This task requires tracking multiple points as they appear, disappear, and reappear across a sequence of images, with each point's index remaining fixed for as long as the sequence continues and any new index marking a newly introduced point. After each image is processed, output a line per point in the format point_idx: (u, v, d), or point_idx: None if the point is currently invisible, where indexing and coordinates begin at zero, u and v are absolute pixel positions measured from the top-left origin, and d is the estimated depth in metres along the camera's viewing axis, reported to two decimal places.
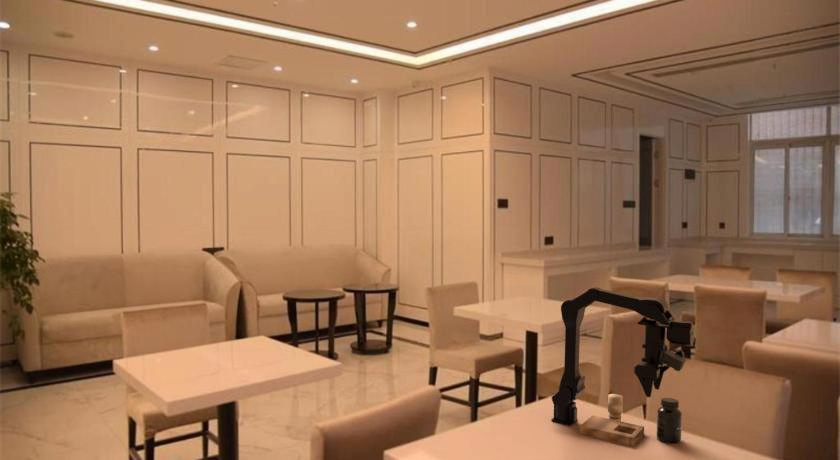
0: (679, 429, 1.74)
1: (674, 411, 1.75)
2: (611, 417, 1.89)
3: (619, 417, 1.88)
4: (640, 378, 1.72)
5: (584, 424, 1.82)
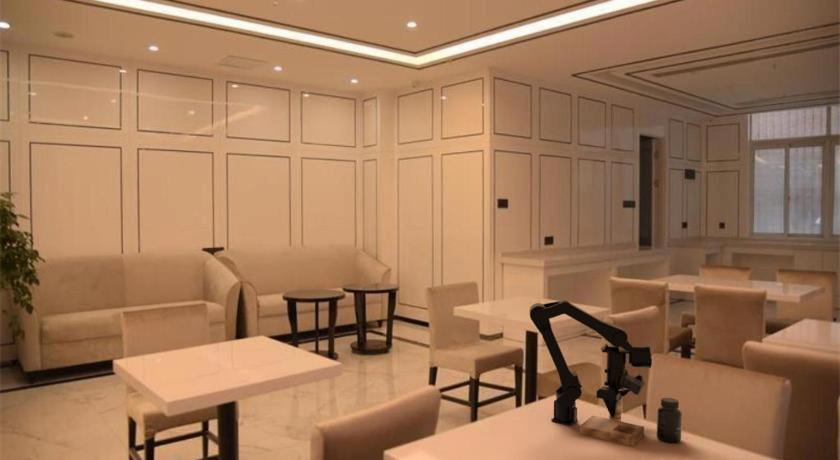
0: (679, 429, 1.74)
1: (674, 411, 1.75)
2: (611, 417, 1.89)
3: (619, 417, 1.88)
4: (604, 399, 1.87)
5: (584, 424, 1.82)
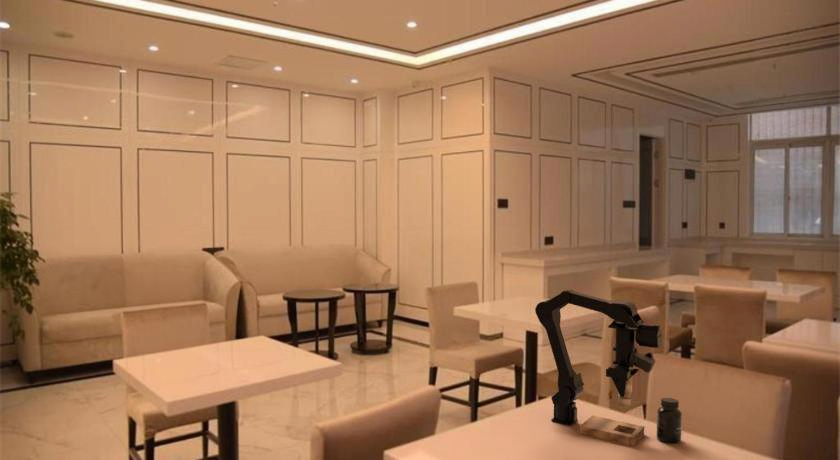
0: (679, 429, 1.74)
1: (674, 411, 1.75)
2: (620, 398, 1.79)
3: (629, 397, 1.79)
4: (614, 379, 1.78)
5: (584, 424, 1.82)
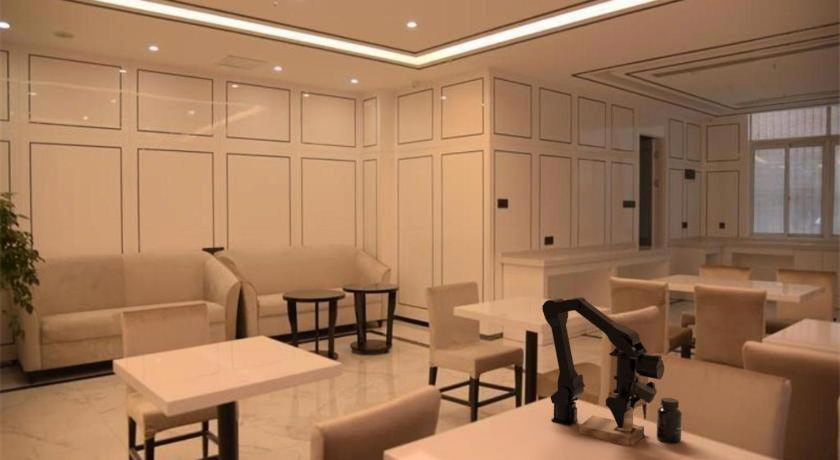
0: (679, 429, 1.74)
1: (674, 411, 1.75)
2: (621, 431, 1.77)
3: (629, 430, 1.77)
4: (612, 409, 1.74)
5: (584, 424, 1.82)
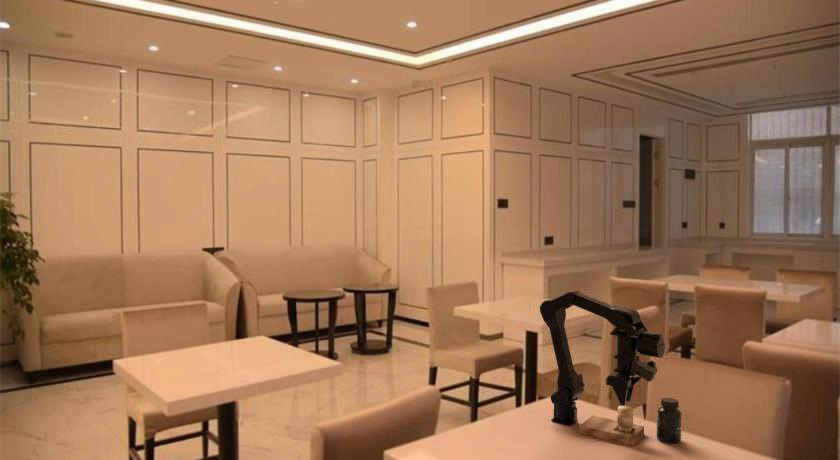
0: (679, 429, 1.74)
1: (674, 411, 1.75)
2: (621, 431, 1.77)
3: (629, 430, 1.77)
4: (614, 387, 1.75)
5: (584, 424, 1.82)
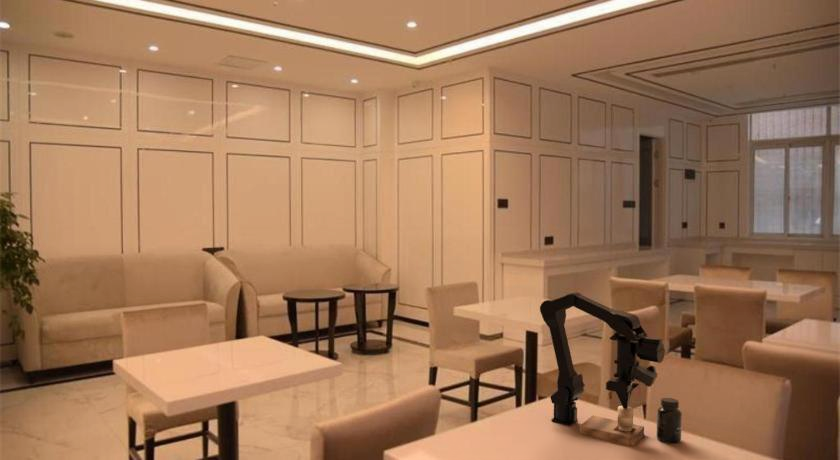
0: (679, 429, 1.74)
1: (674, 411, 1.75)
2: (621, 431, 1.77)
3: (629, 430, 1.77)
4: None
5: (584, 424, 1.82)
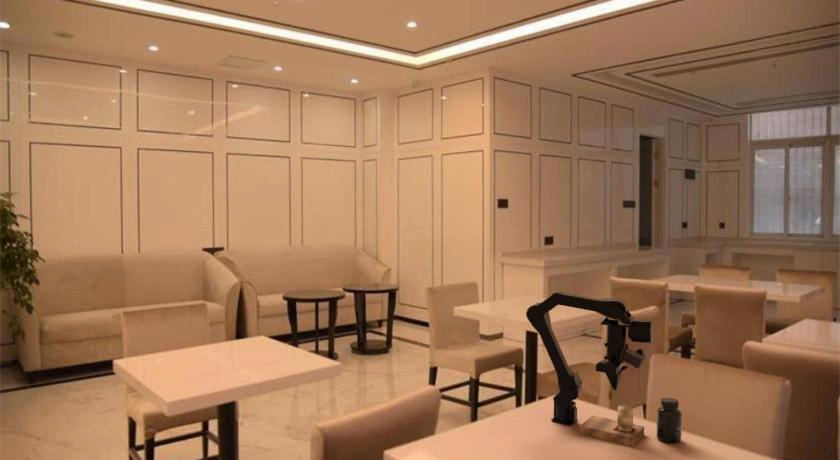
0: (679, 429, 1.74)
1: (674, 411, 1.75)
2: (621, 431, 1.77)
3: (629, 430, 1.77)
4: None
5: (584, 424, 1.82)
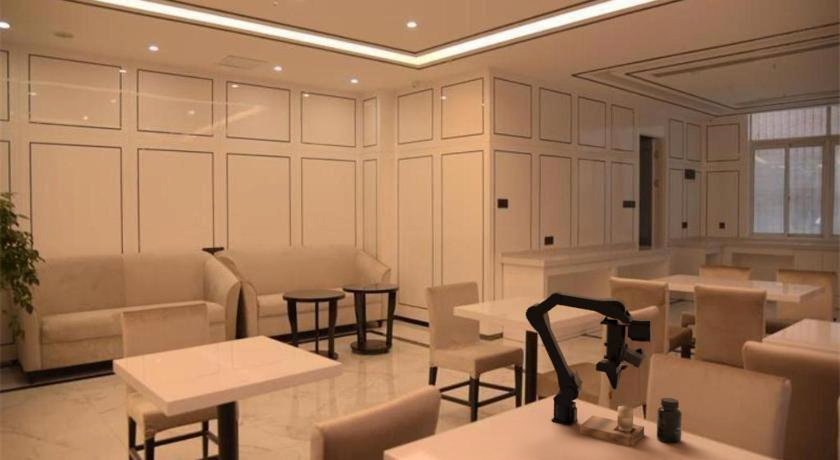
0: (679, 429, 1.74)
1: (674, 411, 1.75)
2: (621, 431, 1.77)
3: (629, 430, 1.77)
4: None
5: (584, 424, 1.82)
